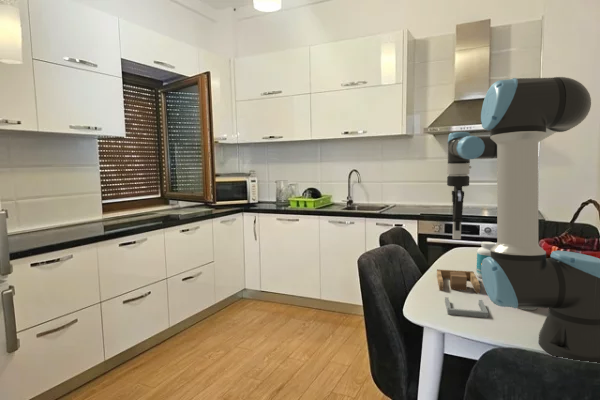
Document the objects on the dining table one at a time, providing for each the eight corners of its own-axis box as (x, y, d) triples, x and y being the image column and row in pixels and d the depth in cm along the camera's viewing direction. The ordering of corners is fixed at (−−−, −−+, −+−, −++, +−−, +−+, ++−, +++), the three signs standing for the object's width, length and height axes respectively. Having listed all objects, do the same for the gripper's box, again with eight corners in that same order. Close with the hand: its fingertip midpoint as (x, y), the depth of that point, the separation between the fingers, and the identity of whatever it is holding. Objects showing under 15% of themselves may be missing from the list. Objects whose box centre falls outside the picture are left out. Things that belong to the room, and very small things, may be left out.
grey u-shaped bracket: (488, 317, 113) (488, 312, 112) (447, 314, 116) (447, 309, 116) (482, 304, 123) (482, 300, 122) (444, 301, 126) (445, 297, 126)
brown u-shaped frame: (479, 293, 133) (480, 284, 133) (439, 290, 136) (439, 282, 136) (472, 279, 148) (473, 271, 148) (436, 276, 152) (436, 269, 151)
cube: (466, 290, 136) (466, 276, 135) (451, 289, 137) (451, 275, 137) (464, 286, 141) (465, 272, 140) (449, 285, 142) (450, 271, 142)
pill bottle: (496, 281, 145) (497, 245, 144) (475, 278, 149) (476, 243, 148) (498, 275, 152) (499, 241, 150) (477, 273, 156) (478, 240, 154)
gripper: (472, 176, 135) (470, 242, 137) (467, 174, 147) (465, 235, 150) (448, 176, 137) (447, 242, 139) (445, 174, 149) (444, 235, 152)
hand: (456, 238), depth 144 cm, fingers closed
